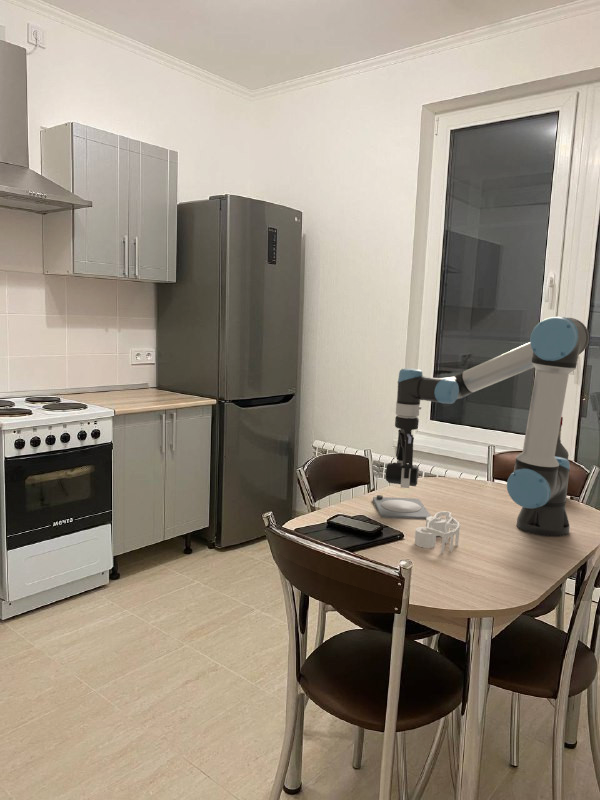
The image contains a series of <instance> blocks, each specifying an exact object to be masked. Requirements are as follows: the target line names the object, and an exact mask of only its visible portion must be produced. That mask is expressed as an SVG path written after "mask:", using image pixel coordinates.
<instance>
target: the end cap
mask: <svg viewBox="0 0 600 800" xmlns="http://www.w3.org/2000/svg"><path fill="white" fill-rule="evenodd" d="M401 466H403V465H401V463H397V461H396V462H392V463H391V462H388V463H387V465H386V470H385V480H386V482H387V483H388V484H395V485H401V474H402V468H401ZM419 471H420V469H419V465H416V464H413V467H412V468H411V472H410V485H409V487H417V485H418V479H419Z"/></svg>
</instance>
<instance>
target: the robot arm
mask: <svg viewBox="0 0 600 800" xmlns="http://www.w3.org/2000/svg"><path fill="white" fill-rule="evenodd" d="M589 333H590V332H589V330H588V328H587V327H586V325H585V324H584V323H583V322H582V321H581V320H578V319H576V318H573V317H565V316H562V315H561V316H560V315H559V316H551V317H548V318H545V319H542V321H541V320H540V322H539V323H537V324H536V325H535V326H534V328H533V329H532V331H531V334H530V339H529V342H527V343H525V344H523V345H520V346H518V347H516V348H513V349H511V350H510V351H507V352H504V353H502V354H500V355H497V356H495V357H493V358H491V359H489V360H487V361H484V362H481V363H480V364H478V365H475V366H473V367H470V368H469V369H466V370H463V371H461V372H459V373H457V374H455V375H452V376H447V377H445V376H444V377H428V376H424V374H423V371H422V370H421V369H417V368H402V369H400V370H399V372H398V380H397V395H396V403H395V404H396V405H395V406H396V407H395V415H396V416H395V417H394V418H395V420H394V421H395V423H394V427H395V428H396V429H398V430H397V431H398V433H397V434H398V435H397V444H396V452H395V453H396V454H395V457H396V463H401V465H403V466H401V468H402V474H401V484H400V488H403V489H410V486H409V485H410V472H411V468H412V467H413V465H414V464H413V461H414V440H415V438H414V435H413V434H412V431H415V430H417V429H418V428H419V420H420V419H419V416H420V410H422V406H420V405H421V401H427V402H433V403H440V404H443V405H444V404H449V405H452V404H455V402H456V401H457V400H461V399H464V398H466V397H467V396H468V395H471V394H472V393H475V392H478V391H479V390H482V389H484V388H487V387H489V386H492V385H494V384H497V383H499V382H502V381H504V380H506V379H509V378H511V377H514V376H516V375H519V374H521V373H523V372H526V371H528V370H531V369H533V368H534V369H535V375H534V381H533V387H532V393H531V399H530V404H529V405H530V406H529V410H528V411H529V412H528V418H527V423H526V430H525V436H524V441H523V447H522V452H520V453H519V454H517V455H516V457H515V461H514V462H515V463H514V468H513V472H511V473H510V475H509V476H508V479H507V481H506V490H507V494H508V496H509V497H510V498H511V500H512V501H513V502H514V504H516V505H518V506H520V507H521V509H520V511H519V513H518V515H517V519H516V527H517V528H518V529H520V530H521V531H523V532H526V533H528V534H532V535H535V536H540V537H541V536H542V537H553V538H554V537H555V538H557V537H560V538H561V537H566V536H567V535H568V536H569V534H570V523H569V518H568V514H567V513H568V512H567V509H566V505H567V504H566V503H567V495H568V486H569V485H568V484H569V479H570V478H569V476H570V471H571V468H570V461H569V459H568V460H567V459H565V458H561V457H556V456H555V451H556V445H557V439H558V434H559V428H560V422H561V417H563V416H562V415H563V410H564V404H565V397H566V393H567V387H568V381H569V375H570V373H572V372H574V371H575V370H576V369H577V364H578V363H577V362H578V359H579V355H581V353H583V352H584V351H585V350H586V349H587V347H588V344H589V341H590V339H589V338H590V334H589Z"/></svg>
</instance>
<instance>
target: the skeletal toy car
mask: <svg viewBox="0 0 600 800" xmlns="http://www.w3.org/2000/svg"><path fill="white" fill-rule="evenodd" d="M443 516H444V517H445V518H443ZM460 524H461V523H460V522H459V521H458V520H457V519H456V518H454V517H453V516H452V512H450V511H448V510H447V511H444V510H443V511H442V510H441V511H438V512H436V513H435V514H434V516H432V515H431V517H427V518H426V519H425V526H418V527H416V528H415V531H414V533H415V535H414V545H415V546H417V547H420V548H422V547H423V548H422V549H431V548H435V547H436V544H437V543H436V541H437V537H441V548H440V553H441V554H442V553H444V554H445V544H449V543H450V544H449V552H451V551H452V552H453V551H454V550H453V549H454V546H459V541H460V540H459V539H460V528H461V527H460V526H461V525H460ZM454 536H455V537H454ZM454 538H455V543H454ZM449 539H450V541H449Z"/></svg>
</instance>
